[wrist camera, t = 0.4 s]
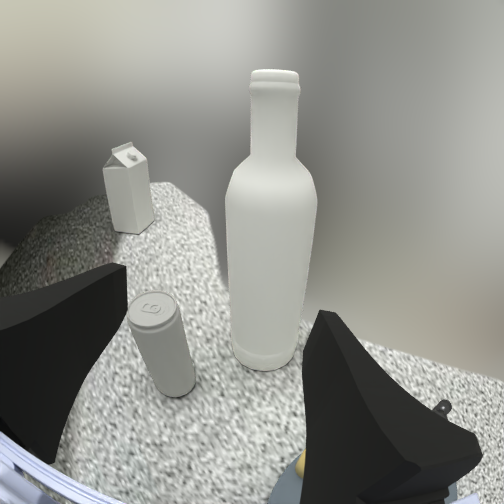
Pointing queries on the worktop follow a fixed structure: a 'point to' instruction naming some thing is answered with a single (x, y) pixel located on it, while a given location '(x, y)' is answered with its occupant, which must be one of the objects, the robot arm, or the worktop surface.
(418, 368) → the worktop surface
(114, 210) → the milk carton
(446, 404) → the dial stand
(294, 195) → the bottle
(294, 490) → the turntable
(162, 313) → the beverage can
